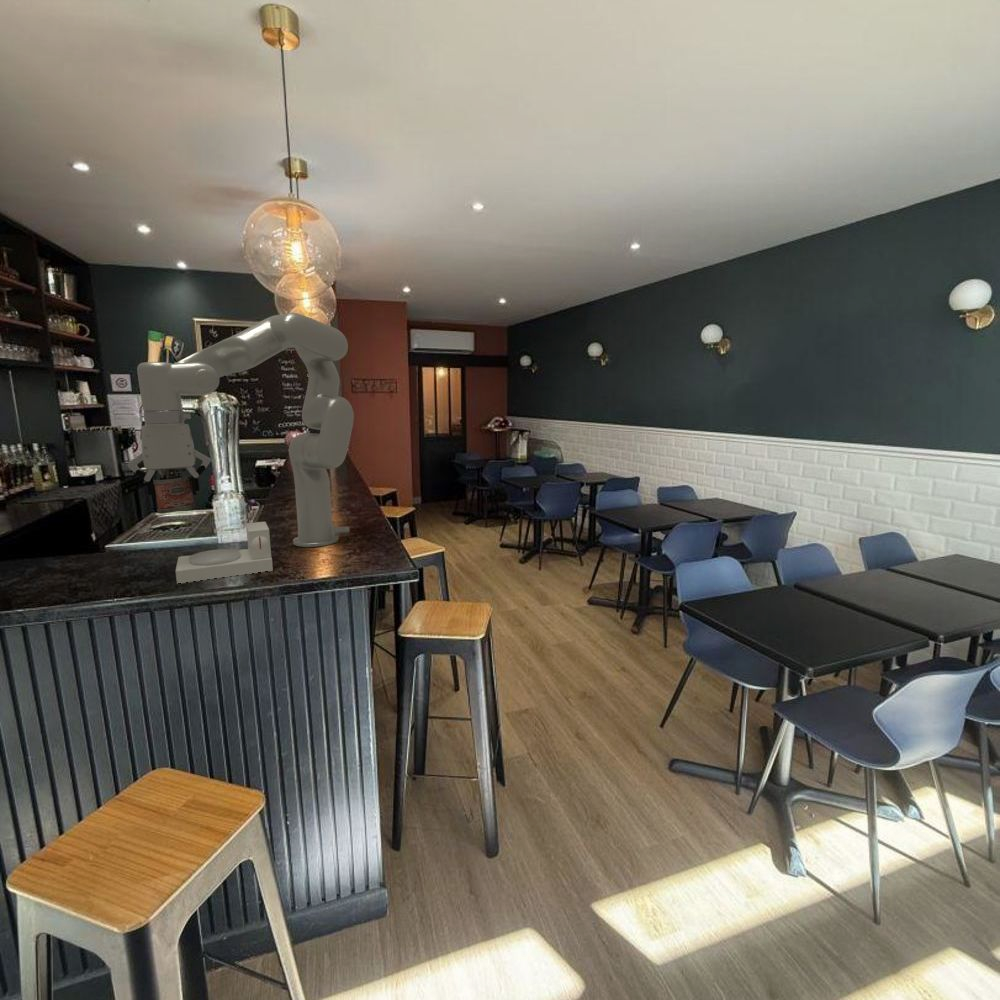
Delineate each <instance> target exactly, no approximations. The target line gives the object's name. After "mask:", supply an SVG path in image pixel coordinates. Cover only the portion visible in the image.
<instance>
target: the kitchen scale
mask: <svg viewBox="0 0 1000 1000" xmlns="http://www.w3.org/2000/svg"><path fill="white" fill-rule="evenodd" d="M245 526H246V536H247V548H245V549H244V548H243V549H232V548H221V549H220V548H219V549H210V550H209V549H208V550H206V551H200V552H197V553H196V552H195V553H194V554H192V555H184V556H183V555H181V556H177V557H178V558H177V562H176V567H175V578H176V579H175V580H176V585H179V584H178V583H181V584H187V583H186V582H188V583H194V582H193V581H196V582H201V581H200V580H203V581H208V580H207V579H210V580H215V579H214V578H217V579H223V578H222V577H225V578H231V577H230V576H232V577H237V576H236V575H239V576H245V574H247V575H253V574H252V573H254V574H259V573H258V572H261V573H266V572H265V571H268V572H273V571H274V569H273V558H272V550H271V548H272V547H271V539H270V528H269V526H268V524H267V522H266V521H257V522H247V523H245Z"/></svg>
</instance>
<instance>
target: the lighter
mask: <svg viewBox="0 0 1000 1000" xmlns="http://www.w3.org/2000/svg"><path fill="white" fill-rule="evenodd" d="M156 471H157V475H158V477H159V478H156V479H153V484H154V485H155V491H156V498H155V499H156V503H157V514H169V513H175V512H181V511H182V512H183V511H186V510H190V509H195V508H196V503H195V501H194V495H193V491H192V484H191V477H192V475H182V473H187V472H188V470H187V469H186V468H181V469H167V470H156Z"/></svg>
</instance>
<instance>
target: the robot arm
mask: <svg viewBox="0 0 1000 1000" xmlns="http://www.w3.org/2000/svg"><path fill="white" fill-rule="evenodd" d="M348 344H349V343H348V340H347V338H346V336H345V335H344V333H342V331H340V330H339V329H338V328H335V327H334V326H331V325H329V324H326V323H324V322H321V321H318V320H316V319H314V318H311V317H309V316H307V315H304V314H300V313H297V312H288V313H283V314H282V313H281V314H280V313H279V314H275V315H271V316H269V317H267V318H265V319H263V320H260V321H258V322H257V323H255V324H253V325H251V326H249V327H247V328H245V329H244V330H242V331H240V332H238V333H236V334H234V335H231V336H230V337H227V338H224V339H222V340H221V341H218V342H216V343H214V344H213V345H210V346H208V347H205V348H203V349H200V350H198V351H196V352H194V353H192V354H190V355H188V356H186V357H185V358H183V359H180V360H179V361H177V362H175V363H171V362H165V361H161V362H160V361H147V362H141V363H139V364H138V365H137V368H136V369H137V380H138V386H139V392H140V393H139V394H140V399H141V405H142V406H141V407H142V411H143V419H144V425H142V426H141V433H140V434H141V435H140V437H141V452H142V453H140V454H138V456H136V457H135V458H134V459H133V460H131V461H130V462H128V463H127V464H126V466H127V468H128V469H130V470H131V471H132V472H133V473H134V474H135V475H136V476H137V477H139V478H140V479H142V480H144V482H146V488H147V494H148V496H151V498H152V500H154V499H155V500H156V499H157V498H156V491H155V485H154V484H153V480H154V474H155V473H156V471H157V470H167V469H181V468H186V469H187V472H189V474H190V476H191V485H192V493H193V496H197V494H198V491H199V492H200V490H201V488H200V481H199V477H200V476H201V475H202V473H203V472H204V471H205V470H206V469H207V468H208V465H210V463H211V462H212V460H211V458H210V457H208V456H207V455H205V454H203V453H202V452H199V451H198V450H197V449H195V445H194V440H193V435H192V432H191V428H190V425H189V423H185V421H187V420H189V419H191V418H192V417H191V413H190V412H185V411H184V410H183V404H182V396H183V397H184V396H187V397H188V396H206V395H209V394H212V393H213V392H215V391H216V390H217V389H218V387H219V386H220V378H221V377H224V376H227V375H231V374H235V373H241V372H244V371H247V370H251V369H252V368H255V367H257V366H258V365H260V364H262V363H263V362H265V361H267V360H268V359H271V358H272V357H274V356H276V355H278V354H279V353H281V352H283V351H284V350H286V349H293V348H295V349H296V353H297V355H298V356H299V358H300V359H301V361H302V362H303V364H304V366H305V367H306V369H307V374H308V380H307V381H308V382H307V388H306V392H305V397H304V402H303V405H302V410H301V419H302V420H301V421H302V422H303V424H304V425H305V426H306V427H308V428H309V429H311V430H318V431H319V433H317V432H316V433H311V432H307V433H306V432H305V433H300V434H298V435H296V436H295V437H294V438H292V439H291V441H290V444H289V445H288V456H289V461H290V464H291V467H292V471H293V479H294V492H295V506H296V519H297V520H296V521H297V522H296V523H297V534H298V535H297V537H294V538H293V540H292V544H293V545H294V546H296V547H300V548H301V547H302V548H314V547H315V548H316V547H318V548H319V547H325V546H328V545H332V544H335V543H337V542H339V540H340V539H339V534H349V533H350V526H342V525H341V526H335V525H334V524H333V515H332V514H333V513H332V499H331V498H332V497H331V482H330V477H329V473H328V471H327V470H328V469H329V470H332V469H337V468H338V467H340V466H341V465H342V464H344V461H345V459H346V457H347V454H348V449H349V445H350V441H351V437H352V430H353V427H354V420H355V414H354V410H353V406H352V404H351V403H350V401H349V400H347V399H346V398H345V397H344V396H343V397H342V396H340V395H339V392H340V391H339V390H340V384H341V382H340V376H339V372H338V370H337V368H336V365H335V364H334V361H335V362H336V361H339V360H341V359H343V358H344V357H345V356H346V355H347V353H348V351H349V350H348V349H349V345H348ZM197 459H199V460H200V461H202V463H201V464H200V465H199V467H197V468H195V465H196V463H197ZM141 462H143V465H144V468H145V470H147V472H145V470H142V469H141V468H140V467H139V466H138V464H140V463H141Z"/></svg>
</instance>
